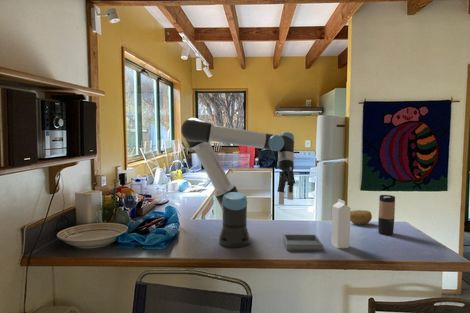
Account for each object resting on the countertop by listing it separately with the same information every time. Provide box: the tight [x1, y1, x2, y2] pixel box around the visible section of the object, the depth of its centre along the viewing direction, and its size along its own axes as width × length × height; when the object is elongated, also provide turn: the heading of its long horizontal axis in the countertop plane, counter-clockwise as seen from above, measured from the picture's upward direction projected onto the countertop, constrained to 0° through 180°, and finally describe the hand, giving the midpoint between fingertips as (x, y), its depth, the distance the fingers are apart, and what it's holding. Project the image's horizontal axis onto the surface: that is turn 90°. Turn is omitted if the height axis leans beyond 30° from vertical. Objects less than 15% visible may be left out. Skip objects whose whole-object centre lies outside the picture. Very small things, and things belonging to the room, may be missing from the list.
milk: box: [330, 198, 352, 249], centre depth 151 cm, size 6×6×22 cm
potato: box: [350, 209, 373, 225], centre depth 188 cm, size 10×14×8 cm
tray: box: [282, 233, 324, 252], centre depth 152 cm, size 16×14×3 cm
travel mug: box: [377, 194, 396, 236], centre depth 170 cm, size 8×8×20 cm
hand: (285, 202), depth 159 cm, fingers open, 13 cm apart
